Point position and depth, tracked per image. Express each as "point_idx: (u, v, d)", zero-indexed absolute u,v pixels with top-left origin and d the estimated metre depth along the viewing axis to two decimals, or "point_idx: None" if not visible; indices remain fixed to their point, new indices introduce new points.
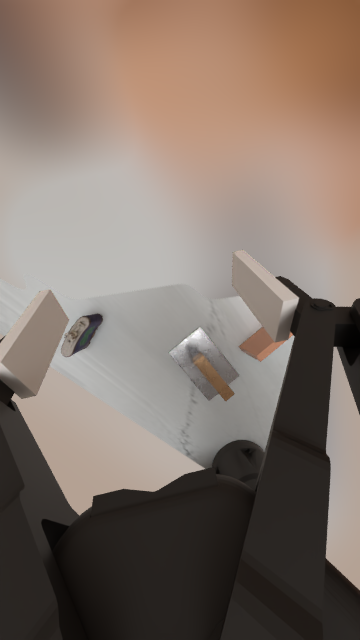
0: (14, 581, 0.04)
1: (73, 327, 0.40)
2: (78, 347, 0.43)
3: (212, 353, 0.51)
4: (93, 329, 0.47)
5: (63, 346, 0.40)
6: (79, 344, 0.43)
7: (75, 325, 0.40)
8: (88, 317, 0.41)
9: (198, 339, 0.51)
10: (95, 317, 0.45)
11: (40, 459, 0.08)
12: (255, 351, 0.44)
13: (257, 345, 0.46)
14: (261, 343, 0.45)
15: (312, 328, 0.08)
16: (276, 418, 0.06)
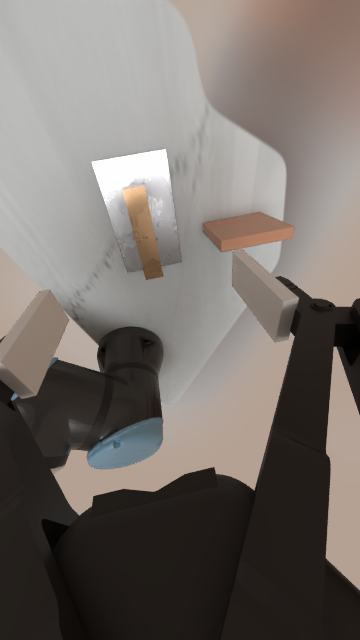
0: (14, 580, 0.04)
1: None
2: None
3: (162, 209, 0.32)
4: None
5: None
6: None
7: None
8: None
9: (152, 171, 0.29)
10: None
11: (40, 459, 0.08)
12: (223, 235, 0.28)
13: (229, 230, 0.30)
14: (236, 230, 0.29)
15: (312, 328, 0.08)
16: (276, 418, 0.06)
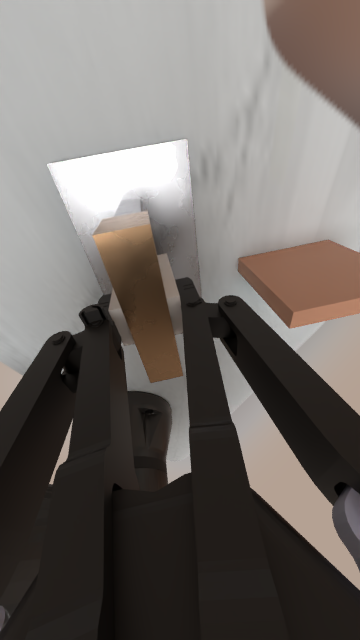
0: (80, 534, 0.04)
1: None
2: None
3: (177, 243, 0.19)
4: None
5: None
6: None
7: None
8: None
9: (160, 181, 0.16)
10: None
11: (126, 413, 0.09)
12: (291, 296, 0.16)
13: (296, 281, 0.17)
14: (310, 282, 0.17)
15: (193, 322, 0.09)
16: (190, 414, 0.06)
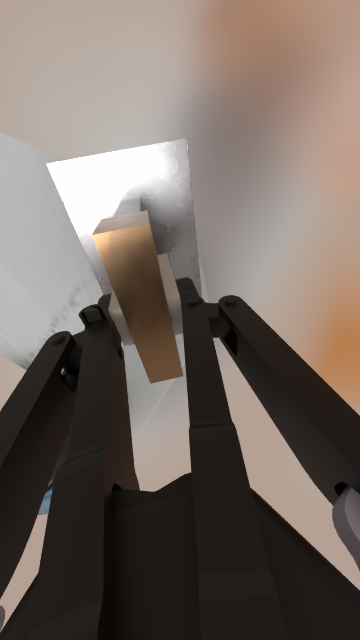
0: (81, 534, 0.04)
1: None
2: None
3: (177, 243, 0.19)
4: None
5: None
6: None
7: None
8: None
9: (160, 180, 0.16)
10: None
11: (126, 413, 0.09)
12: None
13: None
14: None
15: (193, 322, 0.09)
16: (190, 414, 0.06)
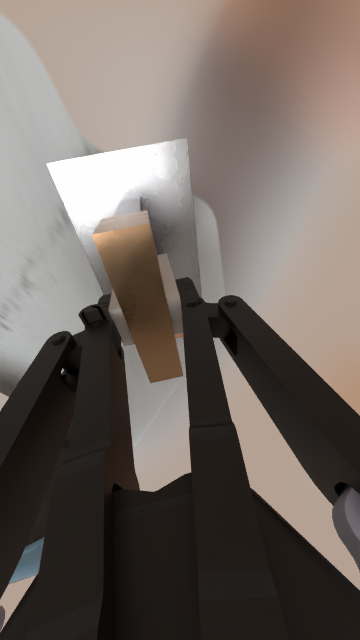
0: (81, 534, 0.04)
1: None
2: None
3: (177, 243, 0.19)
4: None
5: None
6: None
7: None
8: None
9: (160, 180, 0.16)
10: None
11: (126, 413, 0.09)
12: None
13: None
14: None
15: (193, 322, 0.09)
16: (190, 414, 0.06)
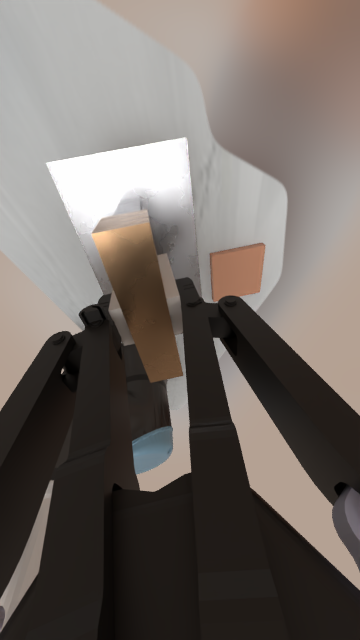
0: (81, 534, 0.04)
1: None
2: None
3: (177, 242, 0.19)
4: None
5: None
6: None
7: None
8: None
9: (160, 179, 0.16)
10: None
11: (126, 413, 0.08)
12: (218, 293, 0.42)
13: (224, 284, 0.41)
14: (229, 286, 0.41)
15: (193, 322, 0.09)
16: (190, 414, 0.06)
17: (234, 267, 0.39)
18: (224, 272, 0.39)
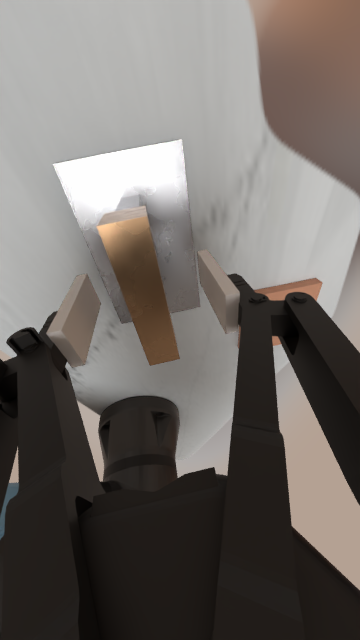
0: (46, 552, 0.04)
1: None
2: None
3: (174, 237, 0.20)
4: None
5: None
6: None
7: None
8: None
9: (158, 178, 0.17)
10: None
11: (81, 431, 0.08)
12: None
13: None
14: None
15: (253, 320, 0.09)
16: (234, 410, 0.06)
17: None
18: None
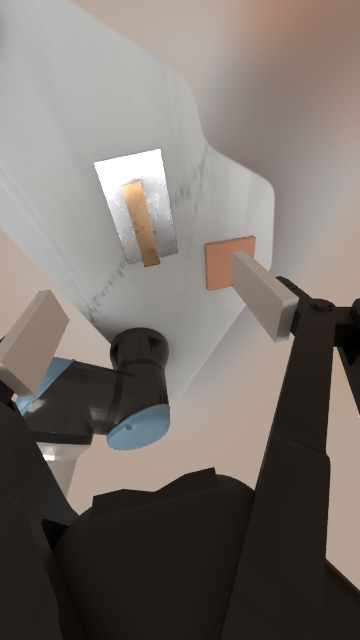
0: (14, 580, 0.04)
1: None
2: None
3: (159, 204, 0.35)
4: None
5: None
6: None
7: None
8: None
9: (148, 170, 0.32)
10: None
11: (40, 459, 0.08)
12: (211, 282, 0.45)
13: (218, 274, 0.44)
14: (222, 275, 0.45)
15: (312, 328, 0.08)
16: (276, 418, 0.06)
17: (227, 257, 0.42)
18: (217, 262, 0.43)
